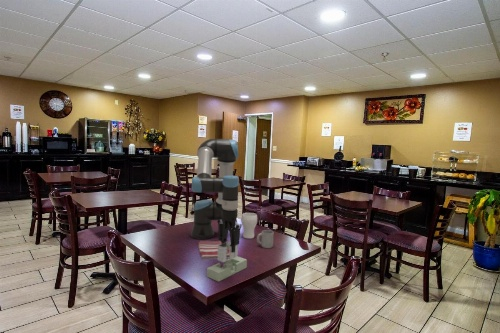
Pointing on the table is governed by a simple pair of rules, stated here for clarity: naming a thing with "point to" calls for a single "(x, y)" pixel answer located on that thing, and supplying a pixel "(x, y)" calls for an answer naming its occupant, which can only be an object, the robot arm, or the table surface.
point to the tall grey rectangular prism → (225, 251)
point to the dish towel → (210, 249)
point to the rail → (226, 268)
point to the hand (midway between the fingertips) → (228, 257)
